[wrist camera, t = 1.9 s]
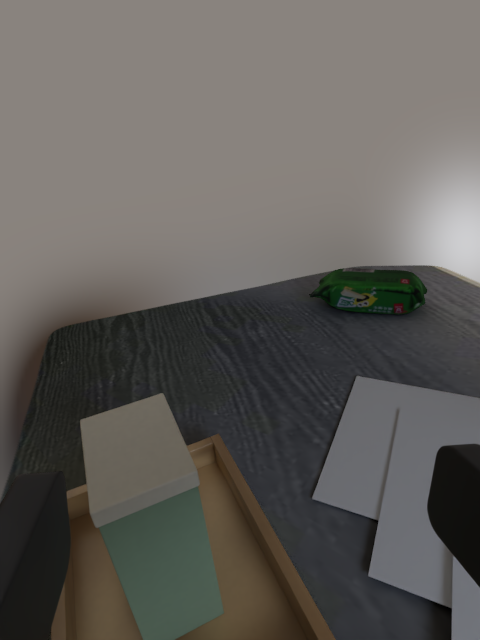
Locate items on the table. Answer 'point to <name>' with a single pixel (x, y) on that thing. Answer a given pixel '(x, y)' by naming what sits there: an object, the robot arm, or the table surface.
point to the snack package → (372, 291)
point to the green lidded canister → (151, 517)
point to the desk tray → (229, 560)
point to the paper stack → (403, 487)
